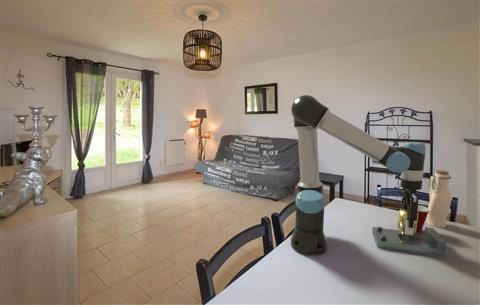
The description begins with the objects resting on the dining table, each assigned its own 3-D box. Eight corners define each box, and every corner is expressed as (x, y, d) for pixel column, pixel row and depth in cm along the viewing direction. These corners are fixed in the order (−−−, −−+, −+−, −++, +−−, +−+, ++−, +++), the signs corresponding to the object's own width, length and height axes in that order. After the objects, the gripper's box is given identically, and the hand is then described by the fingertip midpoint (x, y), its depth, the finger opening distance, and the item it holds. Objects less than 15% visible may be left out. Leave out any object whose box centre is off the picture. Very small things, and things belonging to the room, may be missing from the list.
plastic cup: (433, 232, 121) (436, 208, 119) (417, 236, 118) (419, 212, 116) (411, 223, 131) (414, 201, 130) (396, 226, 128) (398, 204, 126)
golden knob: (399, 236, 109) (401, 213, 107) (395, 229, 115) (397, 207, 113) (418, 239, 106) (420, 215, 105) (413, 232, 113) (415, 209, 111)
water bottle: (440, 230, 124) (447, 174, 119) (420, 223, 132) (426, 170, 127) (451, 225, 128) (458, 171, 124) (431, 219, 136) (437, 168, 132)
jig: (377, 247, 109) (378, 234, 108) (372, 232, 122) (373, 221, 121) (444, 257, 101) (446, 243, 100) (431, 240, 114) (433, 228, 113)
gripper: (430, 186, 96) (424, 242, 100) (414, 174, 115) (410, 222, 118) (408, 184, 99) (402, 239, 102) (395, 173, 117) (391, 220, 121)
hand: (406, 230), depth 110 cm, fingers closed on golden knob, 7 cm apart
